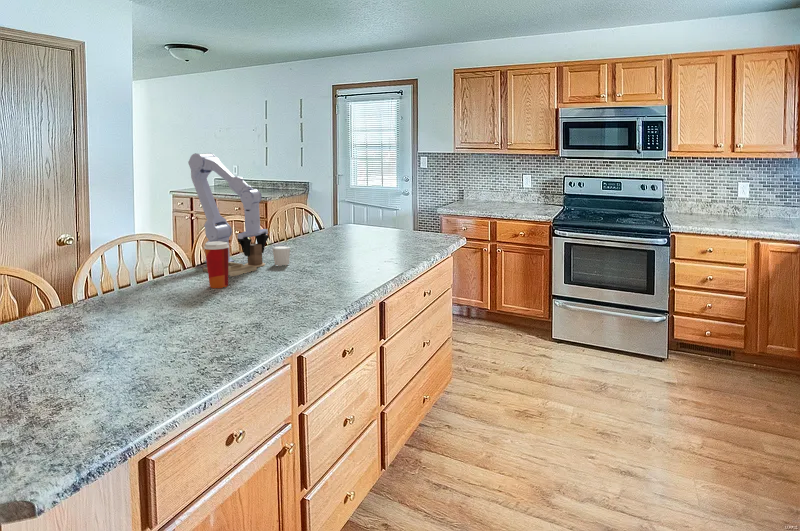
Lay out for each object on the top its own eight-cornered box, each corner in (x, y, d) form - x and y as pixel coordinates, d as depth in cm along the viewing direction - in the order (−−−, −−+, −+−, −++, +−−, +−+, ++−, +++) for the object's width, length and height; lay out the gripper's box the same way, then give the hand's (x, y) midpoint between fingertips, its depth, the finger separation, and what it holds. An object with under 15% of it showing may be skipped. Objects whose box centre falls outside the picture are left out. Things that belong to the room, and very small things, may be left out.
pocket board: (203, 271, 217) (202, 265, 216) (227, 265, 227) (226, 259, 227) (233, 276, 209) (232, 269, 208) (256, 270, 219) (256, 264, 219)
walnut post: (247, 264, 227) (246, 244, 225) (255, 262, 230) (254, 243, 228) (255, 265, 225) (254, 245, 223) (262, 264, 228) (261, 244, 226)
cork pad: (240, 265, 226) (240, 264, 226) (254, 262, 233) (254, 261, 233) (254, 268, 222) (254, 267, 222) (269, 264, 229) (269, 263, 229)
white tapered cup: (286, 266, 226) (285, 249, 224) (270, 265, 227) (269, 248, 225) (293, 262, 232) (292, 246, 231) (277, 262, 233) (276, 245, 232)
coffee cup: (221, 282, 200) (218, 240, 197) (236, 285, 196) (234, 242, 192) (201, 287, 193) (197, 243, 190) (216, 290, 189) (213, 246, 186)
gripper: (246, 223, 216) (248, 258, 219) (272, 219, 228) (274, 252, 231) (232, 222, 219) (234, 256, 222) (259, 217, 231) (261, 250, 234)
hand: (254, 254), depth 227 cm, fingers open, 7 cm apart
